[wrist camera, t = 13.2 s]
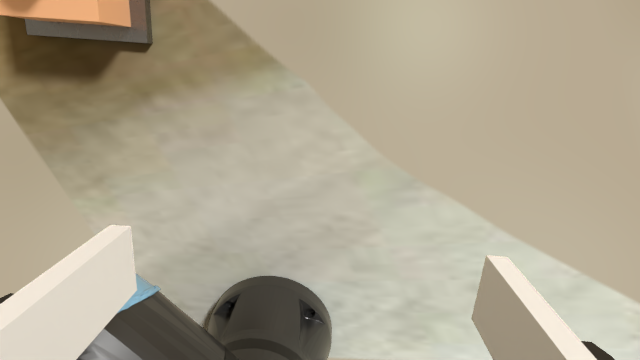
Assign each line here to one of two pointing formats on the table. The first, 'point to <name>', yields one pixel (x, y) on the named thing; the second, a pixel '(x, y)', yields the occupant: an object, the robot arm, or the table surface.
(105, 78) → the table surface
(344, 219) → the table surface
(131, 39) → the post base
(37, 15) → the orange bottle-shaped mold
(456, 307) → the table surface
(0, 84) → the table surface
